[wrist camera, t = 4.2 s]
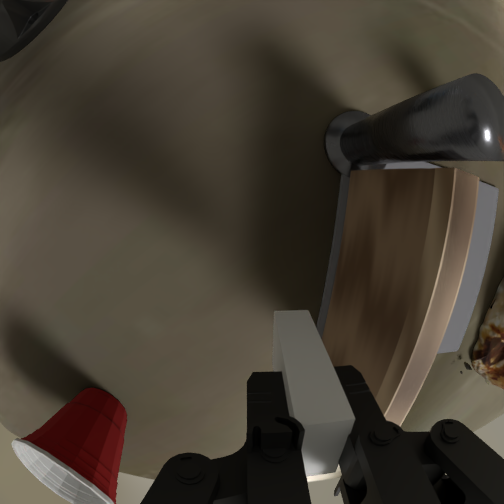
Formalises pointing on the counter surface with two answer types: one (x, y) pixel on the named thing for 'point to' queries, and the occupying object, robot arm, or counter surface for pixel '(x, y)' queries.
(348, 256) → the gate
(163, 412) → the counter surface
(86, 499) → the plastic cup
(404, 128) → the salt and pepper shakers
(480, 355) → the strawberry shortcake
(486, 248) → the rubber mat
